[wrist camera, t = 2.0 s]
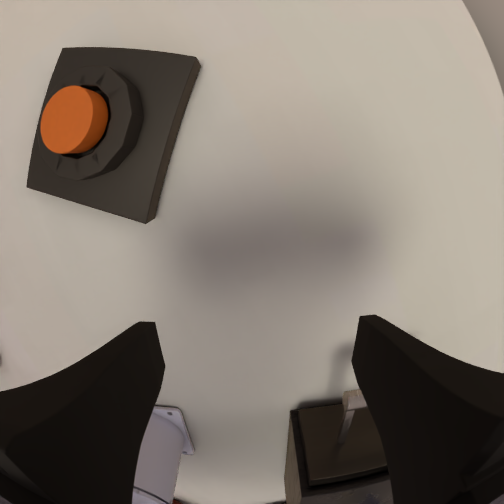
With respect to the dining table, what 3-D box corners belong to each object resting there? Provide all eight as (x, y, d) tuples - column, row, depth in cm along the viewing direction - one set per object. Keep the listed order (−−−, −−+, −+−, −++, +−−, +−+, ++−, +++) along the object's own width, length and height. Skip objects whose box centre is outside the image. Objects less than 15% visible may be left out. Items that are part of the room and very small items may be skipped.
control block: (40, 184, 16) (9, 191, 13) (74, 53, 13) (48, 40, 10) (155, 218, 17) (134, 232, 14) (201, 65, 14) (190, 45, 11)
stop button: (52, 148, 13) (34, 148, 11) (68, 89, 12) (51, 84, 10) (98, 158, 13) (81, 159, 11) (116, 94, 12) (102, 87, 10)
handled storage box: (290, 410, 23) (301, 497, 14) (414, 389, 22) (452, 456, 14) (284, 478, 27) (289, 537, 18) (379, 462, 27) (396, 514, 18)
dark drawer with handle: (303, 359, 20) (321, 438, 13) (434, 339, 19) (479, 394, 12) (290, 475, 25) (295, 526, 18) (381, 460, 25) (396, 504, 18)
